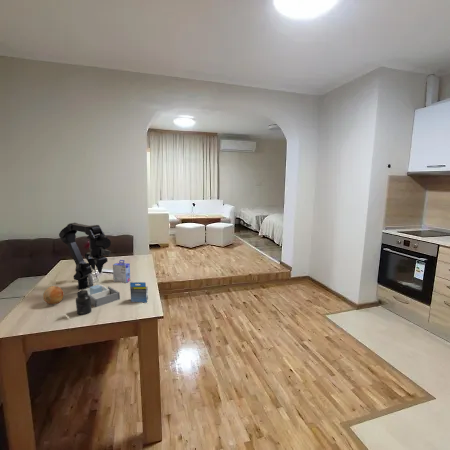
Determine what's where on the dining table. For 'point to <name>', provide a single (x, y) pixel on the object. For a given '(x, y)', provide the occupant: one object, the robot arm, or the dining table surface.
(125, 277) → the ink cartridge box
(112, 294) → the bay
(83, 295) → the supplement bottle
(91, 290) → the light blue cube
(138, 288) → the label tape cartridge
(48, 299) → the onion
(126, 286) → the dining table surface
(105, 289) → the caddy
